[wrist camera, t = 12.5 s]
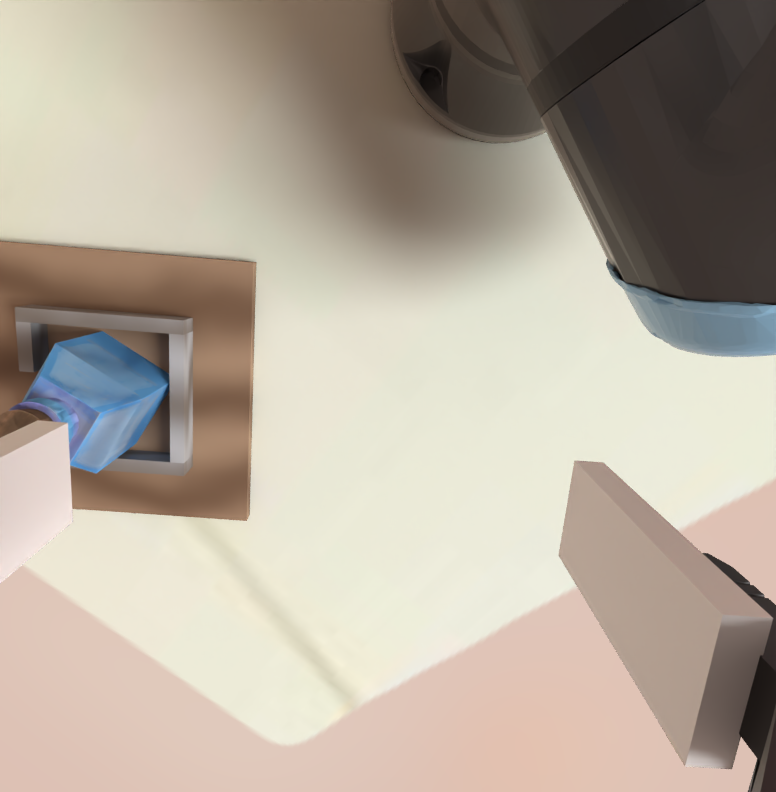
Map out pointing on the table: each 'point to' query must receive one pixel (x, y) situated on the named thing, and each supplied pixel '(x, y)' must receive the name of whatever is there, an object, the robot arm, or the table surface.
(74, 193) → the table surface
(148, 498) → the pocket board
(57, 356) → the perfume bottle
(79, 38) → the table surface
